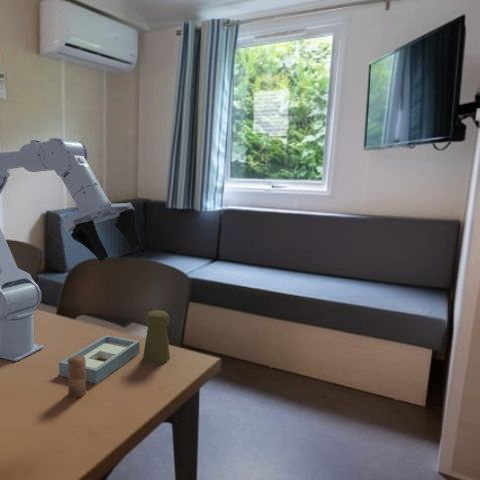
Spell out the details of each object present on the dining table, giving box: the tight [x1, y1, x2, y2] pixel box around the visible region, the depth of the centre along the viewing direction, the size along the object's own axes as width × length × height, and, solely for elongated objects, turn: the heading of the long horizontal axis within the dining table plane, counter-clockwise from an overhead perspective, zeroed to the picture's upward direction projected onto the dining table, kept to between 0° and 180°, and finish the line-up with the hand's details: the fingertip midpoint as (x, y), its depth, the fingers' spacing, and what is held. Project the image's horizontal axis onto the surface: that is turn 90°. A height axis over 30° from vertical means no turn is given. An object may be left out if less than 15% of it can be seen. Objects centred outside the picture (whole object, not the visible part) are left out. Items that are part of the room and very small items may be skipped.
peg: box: [67, 356, 87, 399], centre depth 78 cm, size 3×3×7 cm
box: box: [58, 334, 141, 385], centre depth 91 cm, size 9×16×3 cm, turn 162°
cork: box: [142, 309, 171, 365], centre depth 94 cm, size 6×6×11 cm
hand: (121, 253), depth 80 cm, fingers open, 7 cm apart
